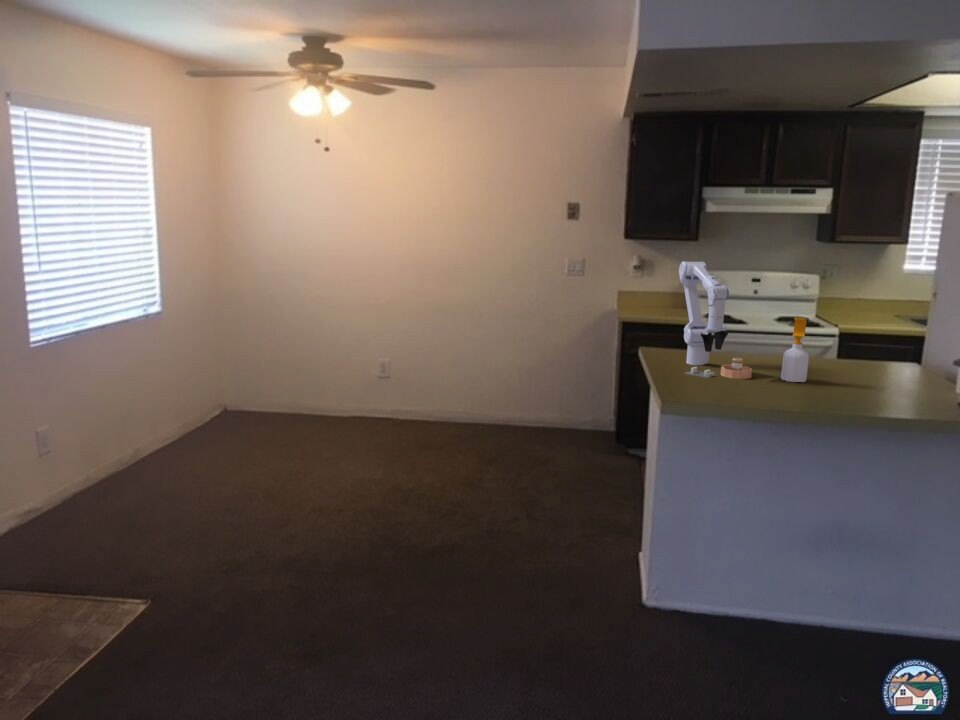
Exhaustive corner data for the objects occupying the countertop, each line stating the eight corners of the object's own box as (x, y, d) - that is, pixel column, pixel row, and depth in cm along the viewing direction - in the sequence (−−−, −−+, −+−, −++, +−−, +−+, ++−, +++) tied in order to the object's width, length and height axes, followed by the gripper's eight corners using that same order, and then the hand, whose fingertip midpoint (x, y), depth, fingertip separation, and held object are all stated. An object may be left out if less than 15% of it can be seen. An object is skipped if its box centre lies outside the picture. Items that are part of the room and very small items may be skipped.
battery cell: (732, 374, 284) (734, 357, 283) (742, 376, 282) (744, 358, 280) (728, 376, 282) (729, 358, 280) (738, 378, 279) (739, 360, 277)
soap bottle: (779, 381, 278) (786, 317, 273) (782, 376, 286) (789, 314, 281) (804, 384, 274) (812, 320, 269) (806, 379, 282) (814, 316, 277)
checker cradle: (694, 372, 289) (695, 365, 289) (717, 377, 282) (717, 369, 281) (683, 375, 284) (683, 368, 283) (706, 380, 277) (706, 372, 276)
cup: (729, 373, 289) (730, 363, 289) (756, 378, 281) (757, 368, 281) (714, 377, 282) (715, 367, 281) (741, 382, 274) (742, 372, 273)
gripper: (715, 319, 276) (712, 354, 279) (734, 316, 285) (731, 349, 288) (699, 317, 281) (696, 351, 284) (718, 313, 290) (715, 347, 293)
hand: (713, 350), depth 286 cm, fingers open, 7 cm apart
